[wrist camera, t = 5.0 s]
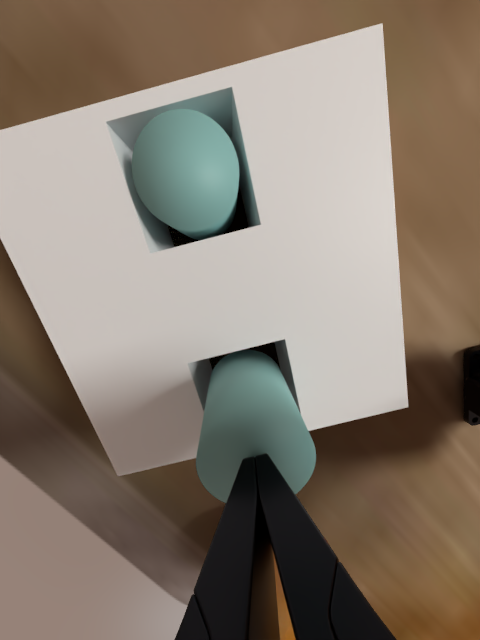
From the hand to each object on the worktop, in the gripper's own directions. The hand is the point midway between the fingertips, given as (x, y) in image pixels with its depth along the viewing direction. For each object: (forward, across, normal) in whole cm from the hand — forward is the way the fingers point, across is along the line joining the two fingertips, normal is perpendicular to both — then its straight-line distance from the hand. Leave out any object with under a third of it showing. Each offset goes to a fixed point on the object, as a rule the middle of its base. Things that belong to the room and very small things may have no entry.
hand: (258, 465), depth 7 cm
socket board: (+9, 0, -5) cm, 10 cm away
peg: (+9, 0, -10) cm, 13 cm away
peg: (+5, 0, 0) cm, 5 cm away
